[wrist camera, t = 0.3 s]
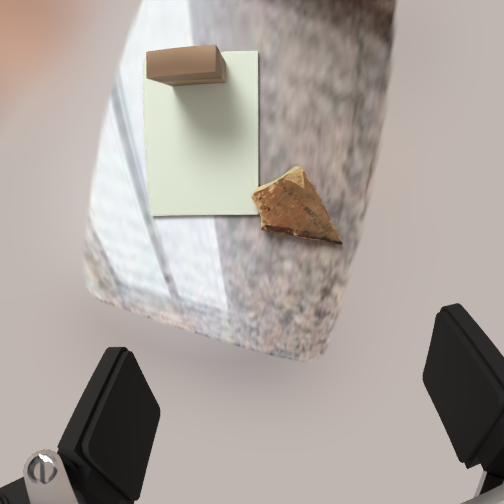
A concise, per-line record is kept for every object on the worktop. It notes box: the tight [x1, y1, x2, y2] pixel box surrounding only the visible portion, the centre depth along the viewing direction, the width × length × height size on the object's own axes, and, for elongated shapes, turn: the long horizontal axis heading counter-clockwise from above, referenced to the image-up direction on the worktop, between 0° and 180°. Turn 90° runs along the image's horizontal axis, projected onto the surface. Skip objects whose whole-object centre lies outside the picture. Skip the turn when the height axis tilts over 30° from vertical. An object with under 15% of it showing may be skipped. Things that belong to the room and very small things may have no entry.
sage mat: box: [143, 51, 258, 216], centre depth 34 cm, size 19×13×1 cm
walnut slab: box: [146, 45, 226, 86], centre depth 27 cm, size 2×6×9 cm, turn 90°
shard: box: [251, 166, 342, 245], centre depth 37 cm, size 11×8×2 cm
